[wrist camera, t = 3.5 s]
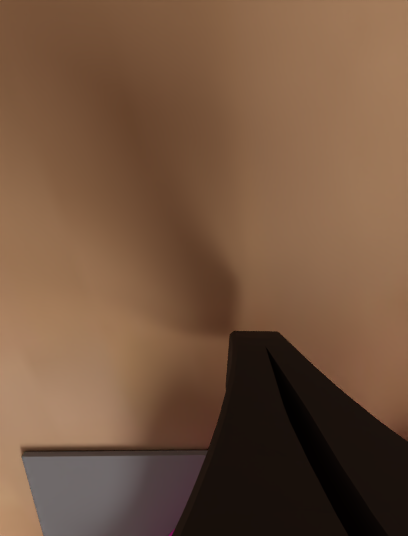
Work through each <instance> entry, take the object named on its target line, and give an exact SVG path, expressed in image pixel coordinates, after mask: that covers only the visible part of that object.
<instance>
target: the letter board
mask: <svg viewBox="0 0 408 536" xmlns="http://www.w3.org/2000/svg"><path fill="white" fill-rule="evenodd" d="M207 451H208V450H189V451H61V452H24V453H23V455H22V460H23V464H24V467H25V471H26V474H27V478H28V482H29V485H30V489H31V492H32V496H33V500H34V503H35V507H36V510H37V514H38V518H39V521H40V525H41V528H42V532H43V536H169V534H170V533H171V532H172V531H173V530H174V529H175V528H176V526H177V523H178V521H179V519H180V517H181V515H182V513H183V511H184V508H185V506H186V504H187V501H188V499H189V497H190V494H191V492H192V490H193V487H194V485H195V482H196V480H197V477H198V475H199V472H200V470H201V467H202V464H203V462H204V459H205V457H206V454H207Z"/></svg>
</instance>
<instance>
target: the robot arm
mask: <svg viewBox="0 0 408 536" xmlns="http://www.w3.org/2000/svg"><path fill="white" fill-rule="evenodd" d="M172 536H408V442H407V441H406V440H405V439H403V438H402V437H400V436H399V435H398V434H396V433H395V432H393V431H392V430H391V429H389V428H388V427H387V426H385V425H384V424H383V423H381V422H380V421H379V420H377V419H376V418H375V417H374V416H372V415H371V414H370V413H369V412H367V411H366V410H365V409H364V408H362V407H361V406H360V405H359V404H358V403H356V402H355V401H354V400H353V399H351V398H350V397H349V396H348V395H347V394H345V393H344V392H343V391H342V390H341V389H339V388H338V387H337V386H336V385H335V384H334V383H333V382H331V381H330V380H329V379H328V378H327V377H326V376H325V375H324V374H322V373H321V372H320V371H319V370H318V369H317V368H316V367H315V366H314V365H313V364H312V363H310V362H309V361H308V360H307V359H306V358H305V357H304V356H303V355H302V354H301V353H300V352H299V351H298V350H297V349H296V348H295V347H294V346H292V345H291V344H290V343H289V342H288V341H287V340H286V339H285V338H284V337H283V336H282V335H281V334H280V333H279V332H272V331H234V332H232V333H231V334H230V338H229V350H228V363H227V375H226V393H225V397H224V401H223V405H222V408H221V412H220V416H219V419H218V422H217V425H216V428H215V431H214V434H213V437H212V440H211V443H210V446H209V449H208V451H207V454H206V457H205V459H204V462H203V464H202V467H201V470H200V472H199V475H198V477H197V480H196V482H195V485H194V487H193V490H192V492H191V494H190V497H189V499H188V501H187V504H186V506H185V508H184V511H183V513H182V515H181V517H180V519H179V521H178V523H177V526H176V528H175V530H174V532H173V534H172Z"/></svg>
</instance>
